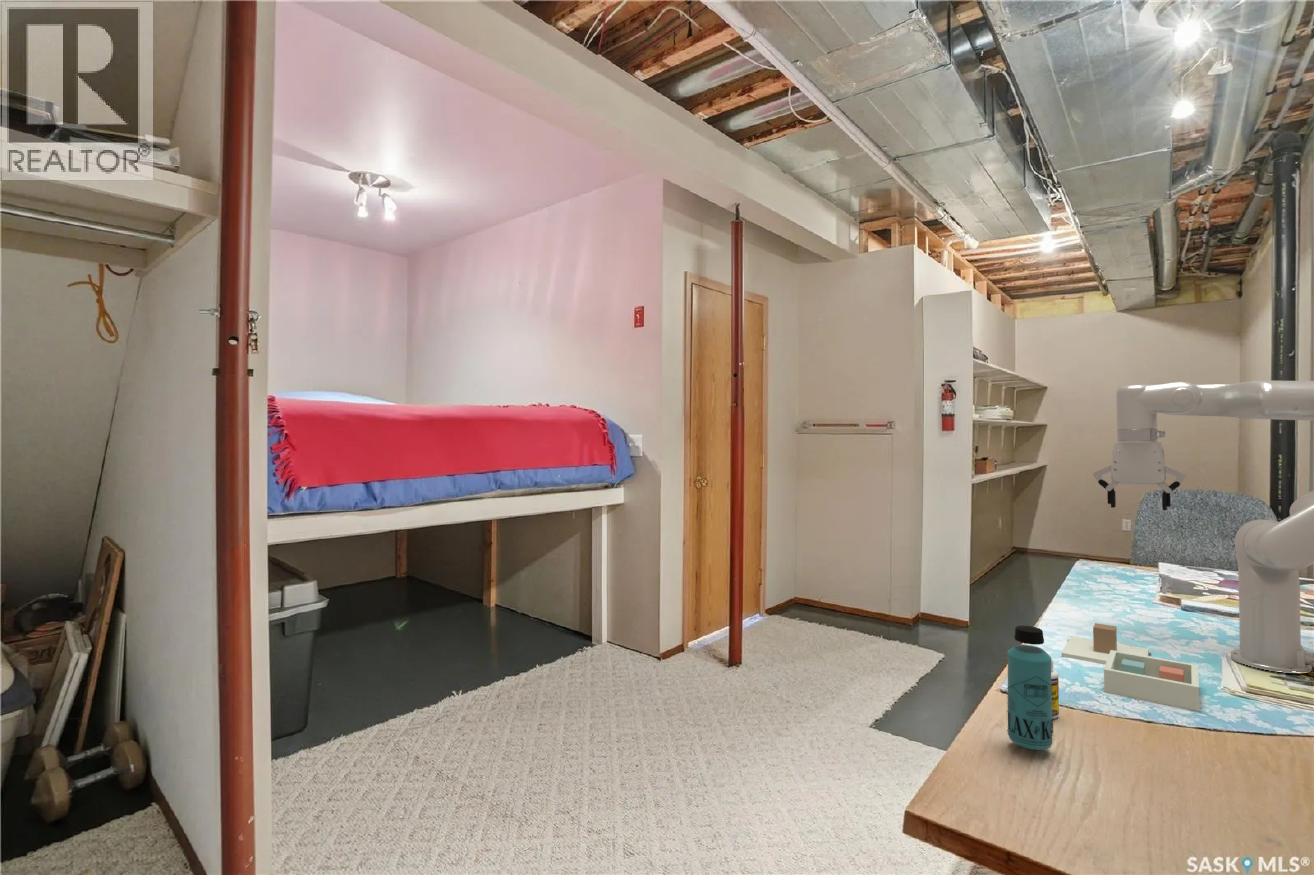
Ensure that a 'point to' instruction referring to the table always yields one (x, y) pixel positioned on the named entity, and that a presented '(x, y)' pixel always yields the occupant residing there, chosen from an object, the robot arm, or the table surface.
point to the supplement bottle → (1054, 692)
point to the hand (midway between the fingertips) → (1138, 508)
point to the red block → (1171, 674)
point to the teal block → (1133, 667)
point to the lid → (1098, 645)
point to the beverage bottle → (1029, 691)
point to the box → (1152, 681)
